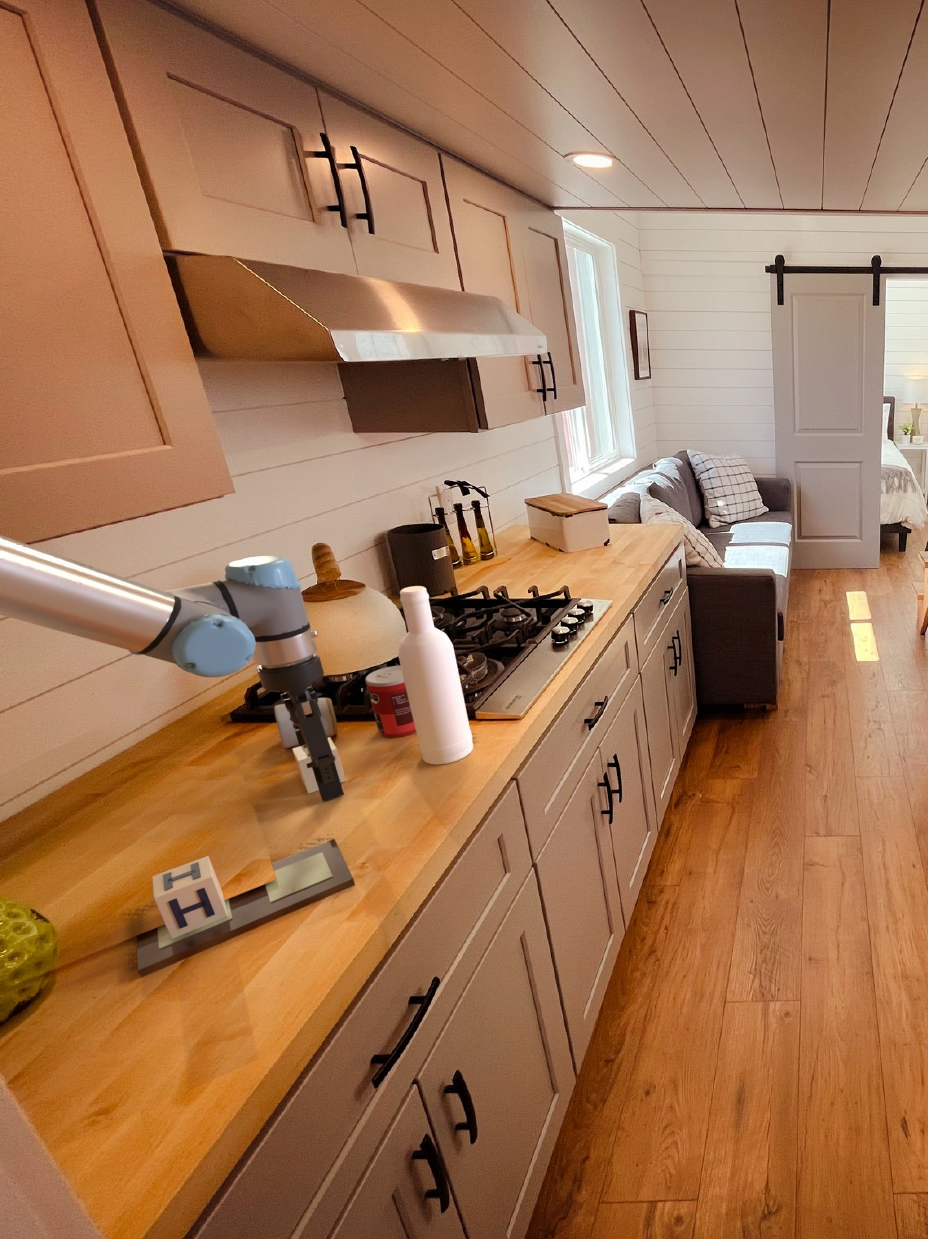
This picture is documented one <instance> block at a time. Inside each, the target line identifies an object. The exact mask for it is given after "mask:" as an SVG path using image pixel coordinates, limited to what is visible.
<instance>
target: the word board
mask: <svg viewBox="0 0 928 1239" xmlns="http://www.w3.org/2000/svg"><path fill="white" fill-rule="evenodd" d="M271 866H272V869H273V872H274V876H275V878H276V879H273V880H271V881H269V882H266V883H264V884H261V885H258V886H256V887H254V888H251V889H249V890H246V891H244V892H241V893H239V894H237V895H234V896H231V897H229V898H227V899H224V900H225V905H226V910H227V914H228V916H227V917H224V918H222V919H219V920H217V921H215V922H212V923H210V924H207V925H205V926H202V927H200V928H198V929H195V930H193V931H190V932H188V933H186V934H183V935H181V936H178V937H176V938H174V939H171V937H170V935H169V933H168V930H167V928H166V926H165V923H163V924H162V925H159V926H157V927H154V928H151V929H149V930H147V931H144V932H142V933H139V934H137V935H135V937H136V938H135V939H136V960H137V972H138V974H139V976H140V978H143V977H145V976H148V975H150V974H153V973H154V972H156V971H159V970H161V969H163V968H166V967H168V966H171V965H173V964H175V963H178V962H179V961H183V960H184V959H187V958H189V957H191V956H194V955H196V954H198V953H201V952H203V951H205V950H207V949H209V948H212V947H214V946H217V945H219V944H221V943H223V942H226V941H228V940H231V939H232V938H235V937H238V936H240V935H242V934H245V933H248V932H249V931H251V930H254V929H256V928H259V927H261V926H263V925H265V924H267V923H270V922H272V921H275V920H276V919H279V918H281V917H284V916H286V915H289V914H291V913H293V912H295V911H298V910H300V909H302V908H305V907H307V906H309V905H311V904H314V903H316V902H319V901H321V900H323V899H326V898H328V897H330V896H333V895H334V894H335V895H336V894H337V893H339V892H342V891H344V890H346V889H348V888H351V887H353V886H355V885H356V884H355V880H354V877H353V876H352V875H353V874H352V873H351V871H350V869H349V866H348V865H347V862H346V860H345V858H344V856H343V854H342V851H341V850H340V847H339V845H338V843H337V841H336V839H335V838H333V839H330V840H327V841H325V842H322V843H320V844H317V845H315V846H312V847H309V848H307V849H304V850H302V851H299V852H296V853H294V854H290V855H289V856H285V857H283V858H281V859H278V860H276V861H273V862H271Z"/></svg>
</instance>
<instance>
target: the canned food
mask: <svg viewBox="0 0 928 1239" xmlns="http://www.w3.org/2000/svg"><path fill="white" fill-rule="evenodd" d="M365 684H366V689H367V693H368V696H369V700H370V705H371V708H372V712H373V715H374V720H375V723H376V726H377V730H378V732H379V733H380V735H382V736H384V737H387V738H400V737H406V736H410V735H412V734H416V728H415V724H414V720H413V716H412V711H411V707H410V703H409V699H408V694H407V690H406V686H405V682H404V677H403V673H402V669H401V665H393V666H387V667H382V668H380V669H377V670H374V671H372V672H370V673H369V674H368V675H367V676H365Z"/></svg>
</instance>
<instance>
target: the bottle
mask: <svg viewBox="0 0 928 1239" xmlns="http://www.w3.org/2000/svg"><path fill="white" fill-rule="evenodd" d="M399 595H400V598H399V601H400V603H401V604H402V605H401V606H402V609H403V613H404V618H405V623H406V627H407V631H408V632H406V634H405V635H404V636H403V637H402V638H401V640H400V642H399V647H398V654H397V656H398V660H399V664H400V665H399V666H401V669H402V673H403V677H404V682H405V686H406V690H407V694H408V699H409V703H410V707H411V711H412V716H413V720H414V724H415V728H416V732H415V734H416V736H417V740H418V748H419V752H420V754H421V758H422V761H424V762H425V763H427V764H430V765H434V766H435V765H436V766H438V765H439V766H440V765H441V766H442V765H448V764H451V763H454V762H457V761H460V760H462V759H464V758H465V757H467V756H468V755H469V754H471V753H472V751H473V749H474V742H473V734H472V730H471V728H470V723H469V717H468V713H467V708H466V702H465V697H464V693H463V688H462V684H461V679H460V678H461V677H460V674H459V669H458V664H457V658H456V654H455V649H454V644H453V643H452V641H451V639H450V638H449V636H448V634H447V633H445V632H444V631H442V630H440V629H438V628H437V627H436V626H435V625H434V624H435V623H434V619H433V614H432V609H431V605H430V600H429V599H430V595H429V593H428V591H427V588H426V587H425V586H421V585H414V586H407V587H404V588H402V589H401V590H400V591H399Z"/></svg>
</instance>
